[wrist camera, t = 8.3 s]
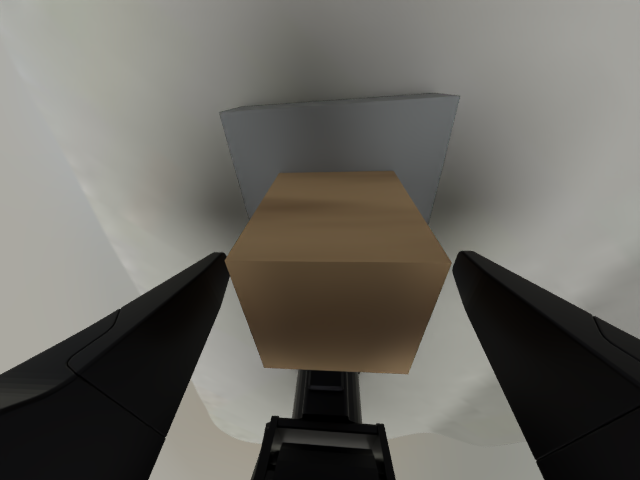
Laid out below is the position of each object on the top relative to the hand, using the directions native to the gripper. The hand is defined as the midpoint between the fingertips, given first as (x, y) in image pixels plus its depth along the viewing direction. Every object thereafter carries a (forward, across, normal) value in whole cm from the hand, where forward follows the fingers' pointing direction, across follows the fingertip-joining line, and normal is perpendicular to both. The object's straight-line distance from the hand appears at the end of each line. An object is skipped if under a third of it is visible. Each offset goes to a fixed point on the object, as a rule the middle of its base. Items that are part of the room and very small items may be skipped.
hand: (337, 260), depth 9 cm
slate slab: (+6, 0, 0) cm, 6 cm away
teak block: (+3, 0, 0) cm, 3 cm away
